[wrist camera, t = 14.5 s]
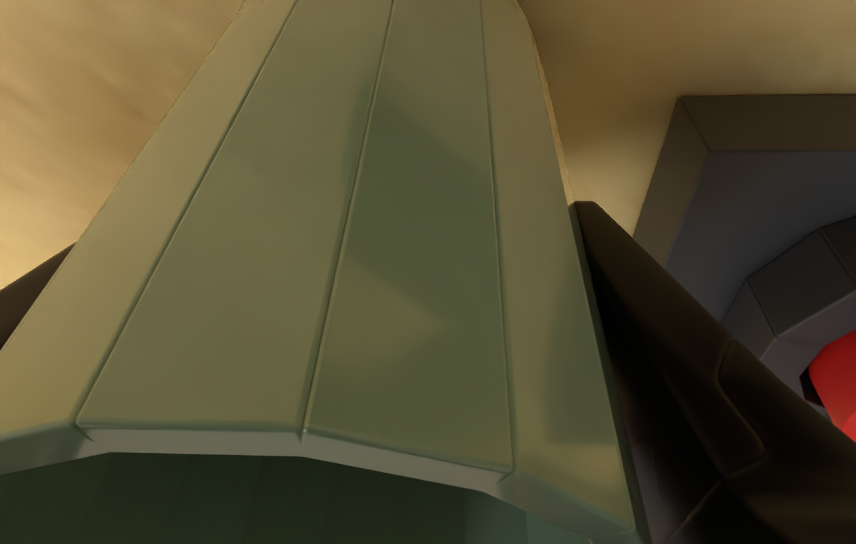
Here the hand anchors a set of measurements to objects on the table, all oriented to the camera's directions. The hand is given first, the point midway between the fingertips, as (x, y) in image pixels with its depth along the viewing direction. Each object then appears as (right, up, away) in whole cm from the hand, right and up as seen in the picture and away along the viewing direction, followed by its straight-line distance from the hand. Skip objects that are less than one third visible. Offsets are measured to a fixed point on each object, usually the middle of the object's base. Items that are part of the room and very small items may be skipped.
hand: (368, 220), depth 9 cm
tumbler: (0, +3, +3) cm, 4 cm away
